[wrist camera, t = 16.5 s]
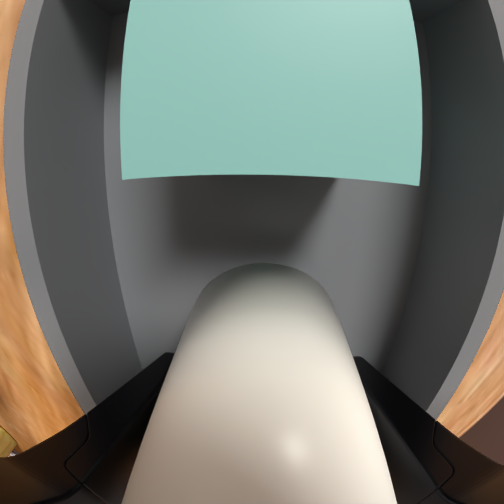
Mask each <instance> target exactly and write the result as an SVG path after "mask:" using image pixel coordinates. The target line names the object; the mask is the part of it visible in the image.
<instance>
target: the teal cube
mask: <svg viewBox="0 0 504 504" xmlns="http://www.w3.org/2000/svg"><path fill="white" fill-rule="evenodd" d="M120 145H121V169H122V180H125V179H137V178H151V177H168V176H189V175H239V174H245V175H295V176H317V177H334V178H347V179H360V180H371V181H381V182H390V183H399V184H407V185H415V186H419V182H420V170H421V153H422V92H421V76H420V65H419V56H418V47H417V40H416V33H415V27H414V22H413V16H412V11H411V7H410V2H409V0H131V1H130V7H129V13H128V19H127V26H126V34H125V42H124V52H123V63H122V77H121V100H120Z"/></svg>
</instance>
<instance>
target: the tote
mask: <svg viewBox="0 0 504 504" xmlns="http://www.w3.org/2000/svg"><path fill="white" fill-rule="evenodd" d="M130 1H131V0H26V1H25V4H24V7H23V10H22V14H21V17H20V20H19V24H18V28H17V31H16V35H15V40H14V44H13V49H12V54H11V59H10V65H9V71H8V78H7V86H6V95H5V107H4V130H3V147H4V170H5V183H6V192H7V201H8V208H9V215H10V221H11V226H12V232H13V237H14V241H15V246H16V250H17V255H18V259H19V263H20V266H21V270H22V274H23V277H24V281H25V284H26V287H27V290H28V294H29V297H30V300H31V303H32V305H33V308H34V311H35V314H36V316H37V319H38V322H39V324H40V327H41V329H42V332H43V334H44V336H45V339H46V341H47V343H48V346H49V348H50V350H51V352H52V354H53V357H54V359H55V361H56V363H57V365H58V367H59V369H60V371H61V373H62V375H63V377H64V379H65V380H66V382H67V384H68V386H69V388H70V390H71V391H72V393H73V395H74V397H75V398H76V400H77V402H78V403H79V405H80V407H81V408H82V410H83V411H84V413H85V414H86V415H87V412H89V411H90V410H91V409H92V408H94V407H95V406H96V405H98V404H99V403H100V402H102V401H103V400H104V399H106V398H107V397H108V396H110V395H111V394H112V393H114V392H115V391H116V390H117V389H119V388H120V387H121V386H123V385H124V384H125V383H126V382H128V381H129V380H130V379H132V378H133V377H134V376H135V375H137V374H138V373H139V372H141V371H142V370H143V369H144V368H146V367H147V366H148V365H150V364H151V363H152V362H153V361H155V360H156V359H157V358H158V357H160V356H161V355H162V354H163V353H165V352H173V353H175V352H176V349H177V346H178V344H179V341H180V339H181V336H182V334H183V331H184V329H185V326H186V324H187V321H188V319H189V317H190V314H191V312H192V309H193V307H194V304H195V302H196V300H197V298H198V296H199V294H200V293H201V292H202V290H203V289H204V288H205V287H206V286H207V284H208V283H209V282H211V281H212V280H213V279H214V278H216V277H217V276H219V275H220V274H222V273H224V272H226V271H228V270H230V269H233V268H235V267H239V266H242V265H246V264H253V263H276V264H281V265H286V266H290V267H293V268H295V269H298V270H300V271H302V272H304V273H306V274H308V275H309V276H311V277H312V278H314V279H315V280H316V281H317V282H318V283H319V284H320V285H321V286H322V287H323V288H324V289H325V290H326V292H327V293H328V295H329V297H330V298H331V301H332V303H333V306H334V308H335V311H336V313H337V316H338V318H339V321H340V324H341V326H342V329H343V332H344V334H345V337H346V340H347V342H348V345H349V348H350V350H351V353H352V356H361V357H363V358H364V359H365V360H366V361H367V362H369V363H370V364H371V365H372V366H373V367H374V368H376V369H377V370H378V371H379V372H380V373H381V374H383V375H384V376H385V377H386V378H387V379H388V380H390V381H391V382H392V383H393V384H394V385H395V386H397V387H398V388H399V389H400V390H401V391H403V392H404V393H405V394H406V395H407V396H408V397H410V398H411V399H412V400H413V401H414V402H415V403H417V404H418V405H419V406H420V407H421V408H423V409H424V410H425V411H426V412H427V413H428V414H430V415H431V416H432V417H433V418H434V419H435V421H436V419H437V418H438V417H439V415H440V414H441V412H442V411H443V409H444V408H445V407H446V405H447V404H448V402H449V400H450V399H451V397H452V396H453V394H454V393H455V391H456V389H457V388H458V386H459V385H460V383H461V381H462V379H463V378H464V376H465V374H466V372H467V371H468V369H469V367H470V365H471V363H472V361H473V360H474V358H475V356H476V354H477V352H478V350H479V348H480V346H481V344H482V341H483V339H484V337H485V335H486V333H487V331H488V328H489V326H490V324H491V321H492V319H493V316H494V314H495V312H496V309H497V306H498V304H499V301H500V298H501V295H502V293H503V290H504V0H409V2H410V7H411V11H412V16H413V22H414V27H415V33H416V40H417V47H418V56H419V65H420V76H421V92H422V153H421V170H420V182H419V186H415V185H407V184H399V183H390V182H381V181H371V180H360V179H347V178H334V177H317V176H295V175H245V174H239V175H189V176H168V177H151V178H137V179H125V180H122V169H121V145H120V100H121V77H122V63H123V52H124V42H125V34H126V26H127V19H128V13H129V7H130Z"/></svg>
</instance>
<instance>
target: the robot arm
mask: <svg viewBox="0 0 504 504" xmlns="http://www.w3.org/2000/svg"><path fill="white" fill-rule="evenodd" d="M174 354H175V353H173V352H165V353H163V354H162V355H161V356H160V357H158V358H157V359H156V360H155V361H153V362H152V363H151V364H150V365H148V366H147V367H146V368H144V369H143V370H142V371H141V372H139V373H138V374H137V375H135V376H134V377H133V378H132V379H130V380H129V381H128V382H126V383H125V384H124V385H123V386H121V387H120V388H119V389H117V390H116V391H115V392H114V393H112V394H111V395H110V396H108V397H107V398H106V399H104V400H103V401H102V402H100V403H99V404H98V405H96V406H95V407H94V408H92V409H91V410H90V411H89V412H87V415H86V414H84V415H83V416H82V417H80V418H79V419H78V420H76V421H75V422H73V423H72V424H71V425H69V426H68V427H66V428H65V429H63V430H62V431H60V432H58V433H57V434H55V435H53V436H52V437H50V438H48V439H46V440H45V441H43V442H41V443H39V444H37V445H35V446H34V447H32V448H30V449H28V450H26V451H24V452H22V453H20V454H18V455H15V456H10V457H0V504H121V503H122V500H123V497H124V494H125V491H126V487H127V484H128V481H129V478H130V475H131V472H132V469H133V466H134V463H135V460H136V457H137V455H138V452H139V449H140V446H141V443H142V440H143V437H144V434H145V432H146V429H147V426H148V423H149V420H150V418H151V415H152V412H153V409H154V407H155V404H156V401H157V399H158V396H159V393H160V391H161V388H162V385H163V383H164V380H165V377H166V375H167V372H168V370H169V367H170V364H171V362H172V359H173V357H174ZM353 359H354V362H355V364H356V367H357V370H358V373H359V376H360V379H361V382H362V385H363V388H364V390H365V393H366V396H367V400H368V403H369V406H370V409H371V412H372V415H373V418H374V421H375V425H376V428H377V431H378V434H379V438H380V441H381V445H382V448H383V452H384V455H385V459H386V462H387V466H388V470H389V473H390V477H391V481H392V485H393V489H394V493H395V497H396V501H397V504H504V465H502V464H499V463H497V462H495V461H493V460H492V459H490V458H489V457H487V456H485V455H484V454H482V453H481V452H479V451H477V450H476V449H474V448H473V447H471V446H470V445H468V444H467V443H465V442H464V441H462V440H461V439H460V438H458V437H457V436H455V435H454V434H453V433H452V432H450V431H449V430H448V429H447V428H445V427H444V426H443V425H442V424H440V423H439V422H438V421H435V419H434V418H433V417H432V416H431V415H430V414H428V413H427V412H426V411H425V410H424V409H423V408H421V407H420V406H419V405H418V404H417V403H415V402H414V401H413V400H412V399H411V398H410V397H408V396H407V395H406V394H405V393H404V392H403V391H401V390H400V389H399V388H398V387H397V386H395V385H394V384H393V383H392V382H391V381H390V380H388V379H387V378H386V377H385V376H384V375H383V374H381V373H380V372H379V371H378V370H377V369H376V368H374V367H373V366H372V365H371V364H370V363H369V362H367V361H366V360H365V359H364V358H363V357H361V356H353Z"/></svg>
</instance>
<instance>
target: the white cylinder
mask: <svg viewBox="0 0 504 504" xmlns="http://www.w3.org/2000/svg"><path fill="white" fill-rule="evenodd" d="M121 504H397V501H396V497H395V493H394V489H393V485H392V481H391V477H390V473H389V470H388V466H387V462H386V459H385V455H384V452H383V448H382V445H381V441H380V438H379V434H378V431H377V428H376V425H375V421H374V418H373V415H372V412H371V409H370V406H369V403H368V400H367V396H366V393H365V390H364V388H363V385H362V382H361V379H360V376H359V373H358V370H357V367H356V364H355V362H354V359H353V356H352V353H351V350H350V348H349V345H348V342H347V340H346V337H345V334H344V332H343V329H342V326H341V324H340V321H339V318H338V316H337V313H336V311H335V308H334V306H333V303H332V301H331V298H330V297H329V295H328V293H327V292H326V290H325V289H324V288H323V287H322V286H321V285H320V284H319V283H318V282H317V281H316V280H315V279H314V278H312V277H311V276H309V275H308V274H306V273H304V272H302V271H300V270H298V269H295V268H293V267H290V266H286V265H281V264H276V263H253V264H246V265H242V266H239V267H235V268H233V269H230V270H228V271H226V272H224V273H222V274H220V275H219V276H217V277H216V278H214V279H213V280H212V281H211V282H209V283H208V284H207V286H206V287H205V288H204V289H203V290H202V292H201V293H200V294H199V296H198V298H197V300H196V302H195V304H194V307H193V309H192V312H191V314H190V317H189V319H188V321H187V324H186V326H185V329H184V331H183V334H182V336H181V339H180V341H179V344H178V346H177V349H176V352H175V354H174V357H173V359H172V362H171V364H170V367H169V370H168V372H167V375H166V377H165V380H164V383H163V385H162V388H161V391H160V393H159V396H158V399H157V401H156V404H155V407H154V409H153V412H152V415H151V418H150V420H149V423H148V426H147V429H146V432H145V434H144V437H143V440H142V443H141V446H140V449H139V452H138V455H137V457H136V460H135V463H134V466H133V469H132V472H131V475H130V478H129V481H128V484H127V487H126V491H125V494H124V497H123V500H122V503H121Z"/></svg>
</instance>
